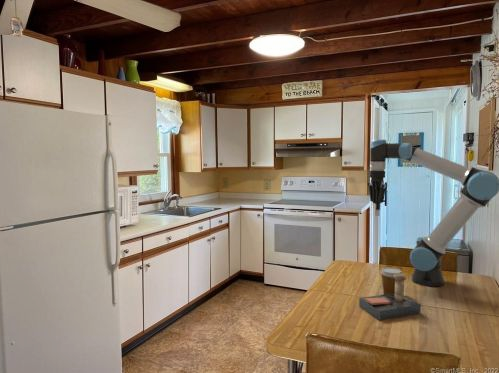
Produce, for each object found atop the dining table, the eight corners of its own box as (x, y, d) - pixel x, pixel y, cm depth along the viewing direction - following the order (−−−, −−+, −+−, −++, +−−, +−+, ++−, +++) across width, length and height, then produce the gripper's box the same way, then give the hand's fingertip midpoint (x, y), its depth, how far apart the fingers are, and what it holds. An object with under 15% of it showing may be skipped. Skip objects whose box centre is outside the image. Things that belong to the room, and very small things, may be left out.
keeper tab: (384, 299, 160) (384, 296, 160) (392, 304, 155) (393, 301, 155) (364, 299, 157) (364, 297, 157) (372, 305, 152) (372, 302, 152)
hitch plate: (397, 301, 168) (397, 292, 167) (420, 313, 154) (420, 304, 154) (359, 306, 162) (359, 298, 161) (379, 320, 148) (380, 311, 148)
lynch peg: (399, 305, 163) (400, 272, 161) (407, 310, 158) (408, 276, 157) (390, 307, 161) (391, 274, 160) (397, 311, 156) (399, 277, 155)
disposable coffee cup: (403, 299, 169) (404, 274, 168) (381, 298, 171) (382, 272, 170) (399, 292, 179) (400, 267, 177) (378, 290, 180) (379, 266, 179)
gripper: (363, 169, 194) (362, 214, 196) (379, 170, 182) (378, 218, 184) (375, 169, 196) (374, 213, 199) (392, 170, 184) (390, 217, 186)
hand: (376, 215), depth 191 cm, fingers closed
